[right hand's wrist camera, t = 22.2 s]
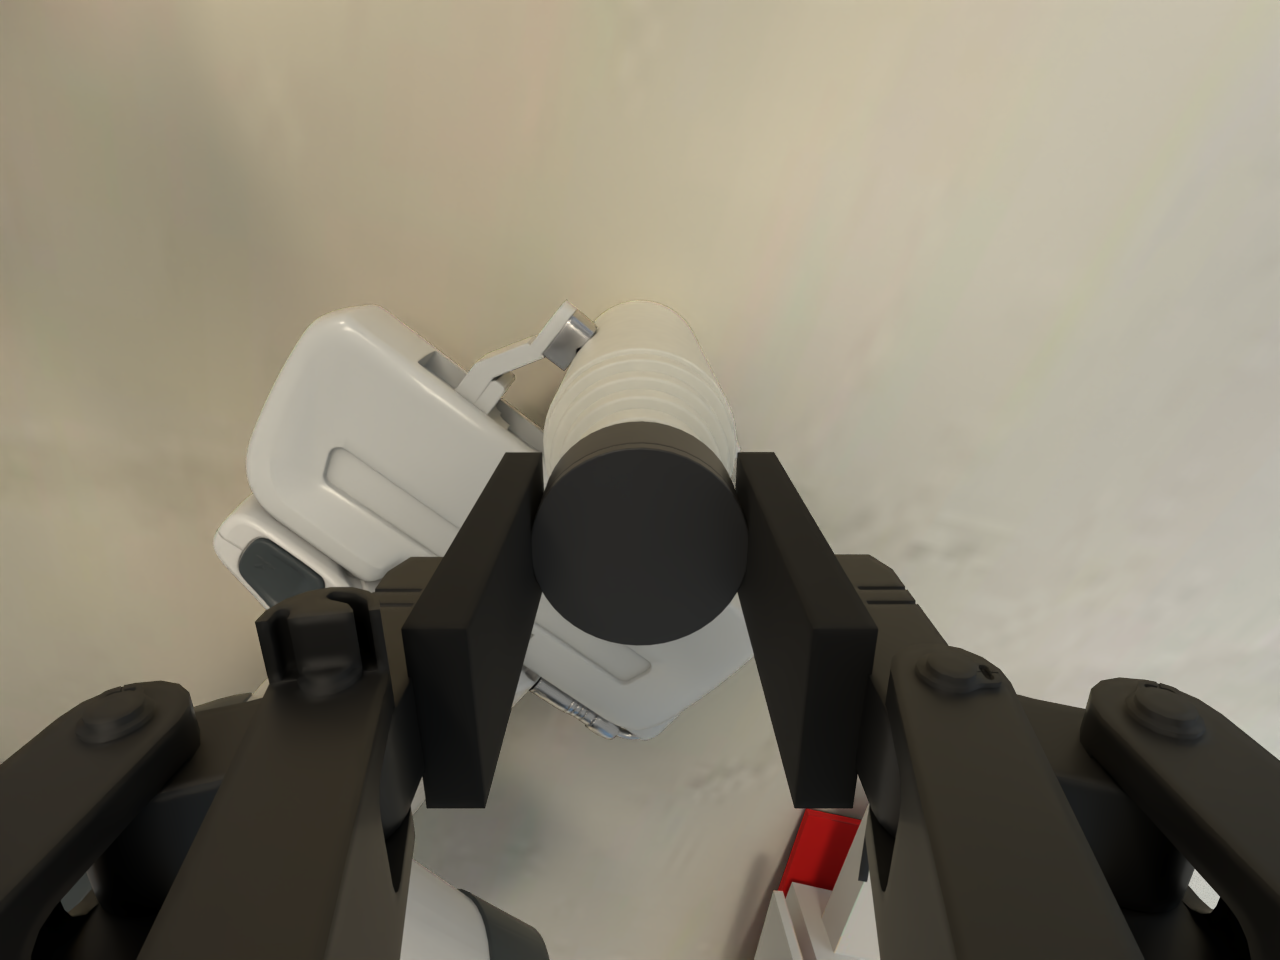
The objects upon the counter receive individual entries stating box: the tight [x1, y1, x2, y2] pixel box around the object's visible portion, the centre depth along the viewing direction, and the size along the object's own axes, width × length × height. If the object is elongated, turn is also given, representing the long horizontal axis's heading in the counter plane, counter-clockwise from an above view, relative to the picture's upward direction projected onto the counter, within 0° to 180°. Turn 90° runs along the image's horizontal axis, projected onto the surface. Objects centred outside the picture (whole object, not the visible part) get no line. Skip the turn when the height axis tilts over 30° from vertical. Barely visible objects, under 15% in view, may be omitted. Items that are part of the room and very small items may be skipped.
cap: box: [531, 421, 748, 646], centre depth 13 cm, size 4×4×2 cm
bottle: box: [543, 300, 737, 478], centre depth 22 cm, size 5×5×18 cm
